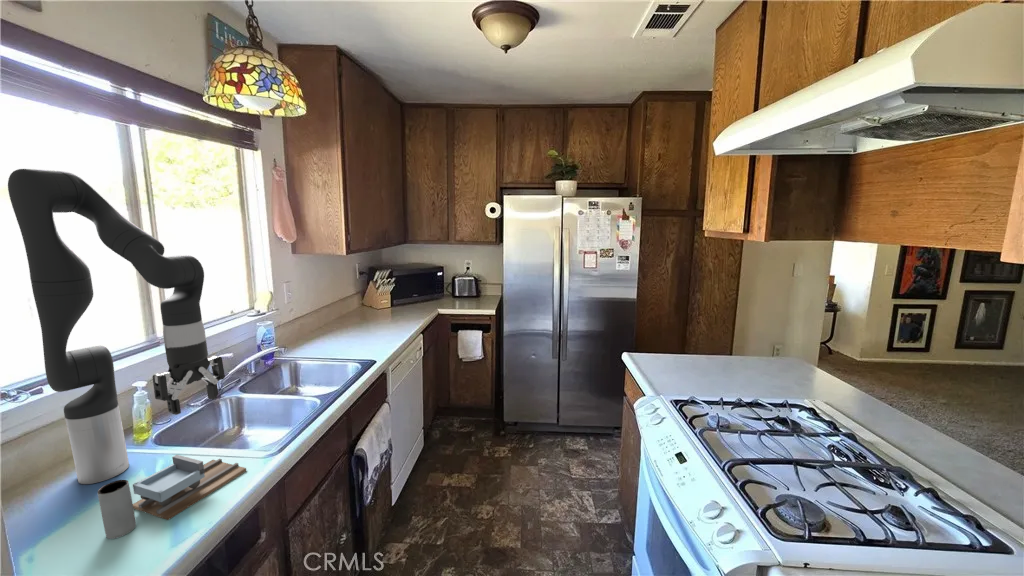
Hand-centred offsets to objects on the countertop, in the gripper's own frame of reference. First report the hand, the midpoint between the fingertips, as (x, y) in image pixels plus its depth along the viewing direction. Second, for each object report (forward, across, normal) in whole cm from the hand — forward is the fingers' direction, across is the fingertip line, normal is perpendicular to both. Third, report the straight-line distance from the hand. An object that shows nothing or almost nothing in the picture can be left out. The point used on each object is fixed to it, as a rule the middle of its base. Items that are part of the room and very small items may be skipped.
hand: (195, 405), depth 95 cm
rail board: (+20, +3, 0) cm, 20 cm away
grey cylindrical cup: (+20, +17, 0) cm, 26 cm away
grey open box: (+18, +7, 0) cm, 20 cm away
